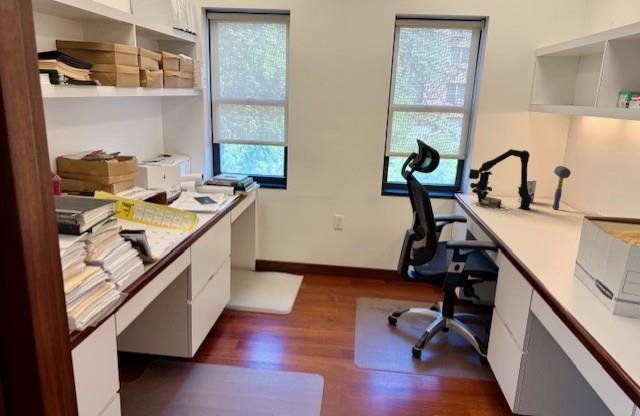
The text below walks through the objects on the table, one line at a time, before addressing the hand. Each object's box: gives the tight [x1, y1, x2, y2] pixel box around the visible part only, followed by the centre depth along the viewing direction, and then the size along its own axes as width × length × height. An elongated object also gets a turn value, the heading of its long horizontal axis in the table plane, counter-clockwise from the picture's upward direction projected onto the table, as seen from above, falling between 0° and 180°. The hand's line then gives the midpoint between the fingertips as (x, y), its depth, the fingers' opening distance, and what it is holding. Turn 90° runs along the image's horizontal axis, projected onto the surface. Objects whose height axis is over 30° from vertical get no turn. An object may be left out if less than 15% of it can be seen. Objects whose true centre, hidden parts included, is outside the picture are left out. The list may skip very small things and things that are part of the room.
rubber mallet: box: [552, 165, 572, 211], centre depth 297 cm, size 12×8×30 cm, turn 168°
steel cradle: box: [484, 195, 502, 201], centre depth 312 cm, size 8×11×3 cm
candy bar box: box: [518, 179, 537, 204], centre depth 316 cm, size 11×5×16 cm, turn 119°
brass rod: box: [477, 199, 489, 206], centre depth 305 cm, size 11×3×3 cm, turn 44°
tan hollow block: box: [487, 198, 503, 209], centre depth 301 cm, size 7×6×4 cm
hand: (480, 201), depth 308 cm, fingers closed on brass rod, 3 cm apart
